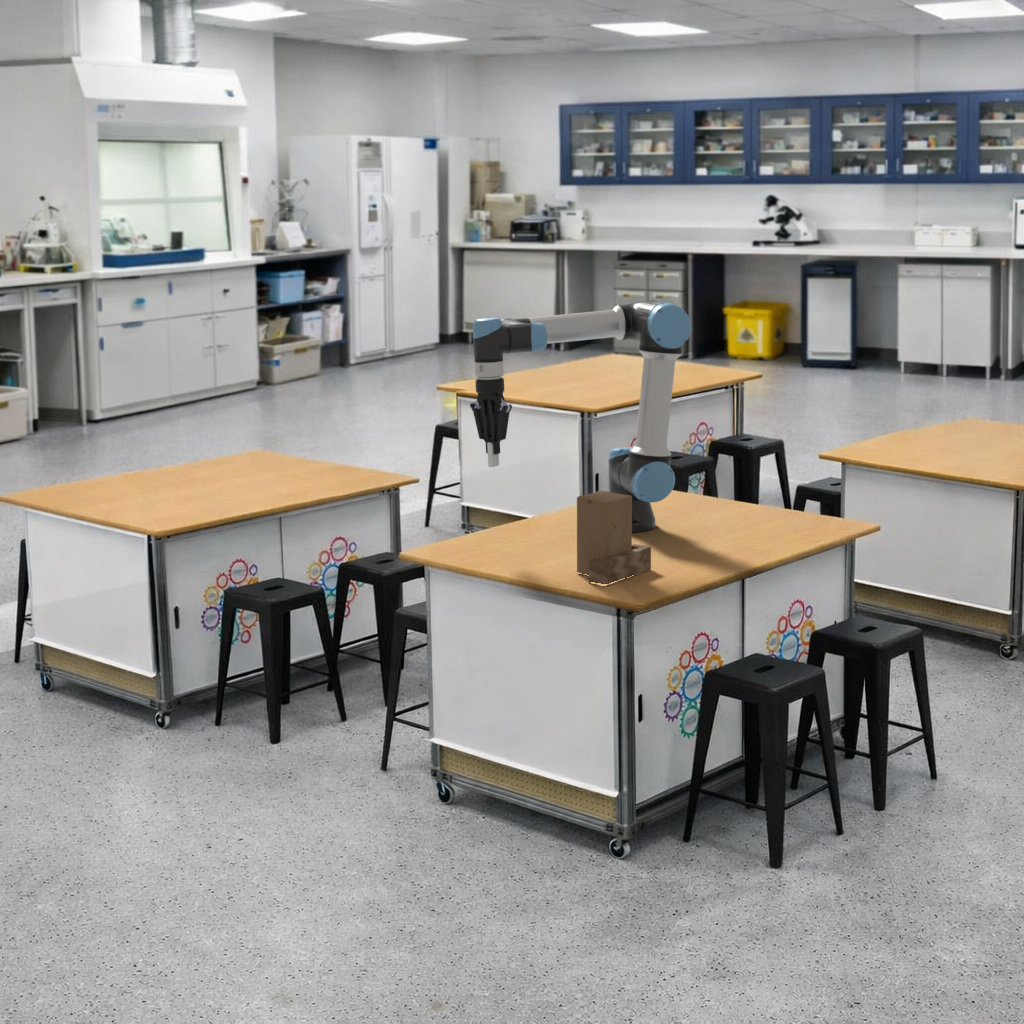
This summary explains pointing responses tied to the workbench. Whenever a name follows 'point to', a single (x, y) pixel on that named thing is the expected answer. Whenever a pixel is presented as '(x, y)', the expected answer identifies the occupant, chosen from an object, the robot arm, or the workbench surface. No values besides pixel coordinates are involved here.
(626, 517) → the wooden block
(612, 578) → the stop rail
